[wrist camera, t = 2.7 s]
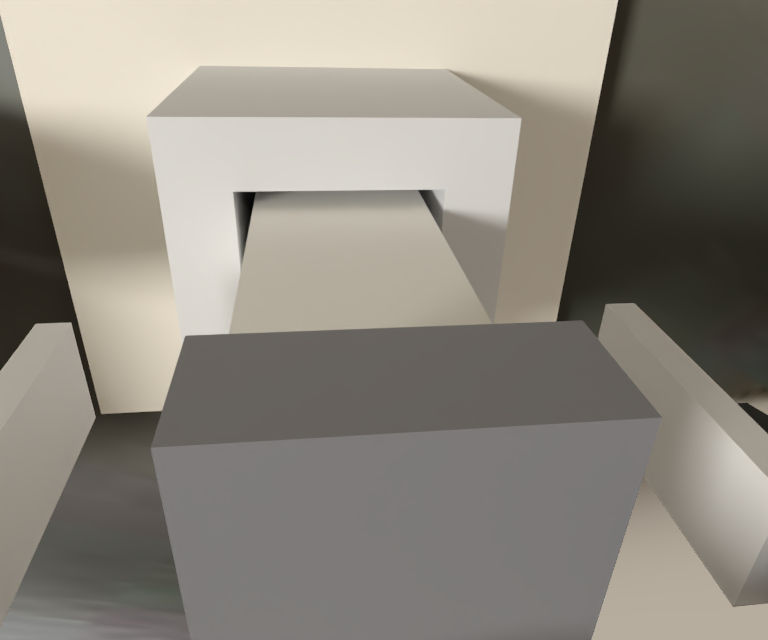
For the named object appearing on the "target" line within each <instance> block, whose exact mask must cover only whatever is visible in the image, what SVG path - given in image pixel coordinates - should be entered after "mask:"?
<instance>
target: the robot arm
mask: <svg viewBox="0 0 768 640" xmlns="http://www.w3.org/2000/svg"><path fill="white" fill-rule="evenodd" d="M598 340H599V341H600V342H601V344H602V345H603V346H604V347H605V348H606V350H607V351H608V352H609V353H610V355H611V356H612V357H613V358H614V359H615V361H616V362H617V363H618V364H619V366H620V367H621V368H622V369H623V370H624V372H625V373H626V374H627V375H628V376H629V378H630V379H631V380H632V381H633V383H634V384H635V385H636V386H637V387H638V389H639V390H640V391H641V392H642V394H643V395H644V396H645V397H646V398H647V400H648V401H649V402H650V403H651V405H652V406H653V407H654V408H655V409H656V411H657V412H658V413H659V414H660V415H661V417H662V420H661V423H660V426H659V429H658V432H657V435H656V439H655V442H654V445H653V448H652V451H651V454H650V457H649V460H648V464H647V467H646V470H645V473H644V476H643V477H644V478H645V479H646V481H647V482H648V484H649V485H650V487H651V488H652V489H653V491H654V493H655V494H656V495H657V497H658V498H659V500H660V501H661V503H662V504H663V506H664V507H665V508H666V510H667V511H668V513H669V514H670V516H671V517H672V519H673V520H674V522H675V523H676V524H677V526H678V527H679V529H680V530H681V532H682V533H683V535H684V536H685V538H686V539H687V541H688V542H689V543H690V545H691V546H692V548H693V549H694V551H695V552H696V553H697V555H698V557H699V558H700V559H701V561H702V562H703V564H704V565H705V567H706V568H707V570H708V571H709V573H710V574H711V575H712V577H713V578H714V580H715V581H716V583H717V584H718V585H719V587H720V589H721V590H722V591H723V593H724V594H725V596H726V597H727V599H728V600H729V602H730V603H731V604H732V606H733V607H736V606H746V605H756V604H766V603H768V415H766V414H765V413H763V412H761V411H760V410H758V409H756V408H754V407H753V406H751V405H749V404H748V403H738V404H737V403H736V402H735V401H734V400H733V399H732V398H731V397H730V396H729V395H728V394H727V393H726V392H725V391H724V390H723V389H722V388H720V387H719V386H718V385H717V384H716V383H715V382H714V381H713V380H712V379H711V378H710V377H709V376H708V375H707V374H706V373H705V372H704V371H703V370H702V369H701V368H700V367H699V366H698V365H697V364H696V363H695V362H694V361H693V360H692V359H691V358H690V357H689V356H688V355H687V354H686V353H685V352H684V351H683V350H682V349H681V348H680V347H679V346H678V345H677V344H676V343H675V342H674V341H673V340H671V339H670V338H669V337H668V336H667V335H666V334H665V333H664V332H663V331H662V330H661V329H660V328H659V327H658V326H657V325H656V324H655V323H654V322H653V321H652V320H651V319H650V318H649V317H648V316H647V315H646V314H645V313H644V312H643V311H642V310H641V309H640V308H639V307H638V306H637V305H636V304H635V303H620V304H606V306H605V310H604V314H603V319H602V323H601V327H600V331H599V336H598ZM95 418H96V417H95V413H94V409H93V405H92V401H91V397H90V393H89V390H88V386H87V382H86V378H85V374H84V370H83V366H82V363H81V359H80V355H79V351H78V347H77V343H76V339H75V335H74V332H73V328H72V324H71V323H43V324H35V325H34V327H33V328H32V329H31V331H30V332H29V333H28V335H27V336H26V337H25V339H24V340H23V341H22V343H21V344H20V345H19V347H18V348H17V349H16V351H15V352H14V353H13V355H12V356H11V358H10V359H9V360H8V362H7V363H6V364H5V366H4V367H3V368H2V370H1V371H0V628H1V625H2V623H3V621H4V619H5V617H6V614H7V612H8V610H9V608H10V606H11V603H12V601H13V599H14V597H15V595H16V592H17V590H18V588H19V586H20V584H21V581H22V579H23V577H24V575H25V573H26V570H27V568H28V566H29V564H30V562H31V559H32V557H33V555H34V553H35V550H36V548H37V546H38V544H39V542H40V539H41V537H42V535H43V533H44V531H45V528H46V526H47V524H48V522H49V520H50V517H51V515H52V513H53V511H54V509H55V506H56V504H57V502H58V500H59V498H60V495H61V493H62V491H63V489H64V487H65V484H66V482H67V480H68V478H69V476H70V473H71V471H72V469H73V467H74V465H75V462H76V460H77V458H78V456H79V454H80V451H81V449H82V447H83V445H84V442H85V440H86V438H87V436H88V434H89V431H90V429H91V427H92V425H93V423H94V420H95Z"/></svg>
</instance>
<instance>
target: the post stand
mask: <svg viewBox="0 0 768 640" xmlns="http://www.w3.org/2000/svg"><path fill="white" fill-rule="evenodd" d="M617 3H618V0H0V15H1V19H2V23H3V27H4V30H5V34H6V38H7V42H8V46H9V50H10V54H11V58H12V62H13V66H14V70H15V74H16V78H17V82H18V86H19V90H20V94H21V98H22V102H23V106H24V110H25V114H26V118H27V122H28V126H29V130H30V134H31V137H32V141H33V145H34V149H35V153H36V157H37V161H38V165H39V169H40V173H41V177H42V181H43V185H44V189H45V193H46V197H47V201H48V205H49V209H50V213H51V217H52V221H53V225H54V229H55V233H56V237H57V241H58V244H59V248H60V252H61V256H62V260H63V264H64V268H65V272H66V276H67V280H68V284H69V288H70V292H71V296H72V300H73V304H74V308H75V312H76V316H77V320H78V324H79V328H80V332H81V336H82V340H83V344H84V348H85V352H86V355H87V359H88V363H89V367H90V371H91V375H92V379H93V383H94V387H95V391H96V395H97V399H98V403H99V407H100V411H101V414H111V413H130V412H149V411H162V409H163V406H164V403H165V400H166V397H167V393H168V390H169V387H170V384H171V380H172V377H173V374H174V371H175V367H176V364H177V361H178V358H179V354H180V351H181V348H182V345H183V342H184V338H185V336H188V335H214V334H229V331H230V326H231V321H232V316H233V310H234V305H235V300H236V294H237V289H238V284H239V279H240V273H241V268H242V263H243V258H244V252H245V247H246V242H247V236H248V231H249V226H250V221H251V215H252V210H253V205H254V200H255V194H256V191H353V190H418V191H419V193H420V195H421V196H422V198H423V200H424V202H425V204H426V205H427V207H428V209H429V211H430V213H431V214H432V216H433V218H434V220H435V222H436V223H437V225H438V227H439V229H440V231H441V232H442V234H443V236H444V238H445V240H446V241H447V243H448V245H449V247H450V249H451V250H452V252H453V254H454V256H455V258H456V259H457V261H458V263H459V265H460V267H461V268H462V270H463V272H464V274H465V276H466V277H467V279H468V281H469V283H470V285H471V286H472V288H473V290H474V292H475V294H476V295H477V297H478V299H479V301H480V303H481V304H482V306H483V308H484V310H485V312H486V313H487V315H488V317H489V319H490V321H491V322H492V324H504V323H531V322H556V320H557V315H558V309H559V304H560V299H561V294H562V289H563V284H564V278H565V273H566V268H567V263H568V258H569V252H570V247H571V242H572V237H573V232H574V226H575V221H576V216H577V211H578V206H579V201H580V195H581V190H582V185H583V180H584V175H585V169H586V164H587V159H588V154H589V149H590V143H591V138H592V133H593V128H594V123H595V118H596V112H597V107H598V102H599V97H600V92H601V86H602V81H603V76H604V71H605V66H606V60H607V55H608V50H609V45H610V40H611V35H612V29H613V24H614V19H615V14H616V9H617Z"/></svg>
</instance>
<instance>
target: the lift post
mask: <svg viewBox="0 0 768 640" xmlns="http://www.w3.org/2000/svg"><path fill="white" fill-rule="evenodd" d="M661 420H662V417H661V415H660V414H659V413H658V412H657V411H656V409H655V408H654V407H653V406H652V405H651V403H650V402H649V401H648V400H647V398H646V397H645V396H644V395H643V394H642V392H641V391H640V390H639V389H638V387H637V386H636V385H635V384H634V383H633V381H632V380H631V379H630V378H629V376H628V375H627V374H626V373H625V372H624V370H623V369H622V368H621V367H620V366H619V364H618V363H617V362H616V361H615V359H614V358H613V357H612V356H611V355H610V353H609V352H608V351H607V350H606V348H605V347H604V346H603V345H602V344H601V342H600V341H599V340H598V339H597V337H596V336H595V335H594V334H593V333H592V331H591V330H590V329H589V328H588V327H587V325H586V324H585V323H584V322H583V321H557V322H531V323H504V324H492V322H491V321H490V319H489V317H488V315H487V313H486V312H485V310H484V308H483V306H482V304H481V303H480V301H479V299H478V297H477V295H476V294H475V292H474V290H473V288H472V286H471V285H470V283H469V281H468V279H467V277H466V276H465V274H464V272H463V270H462V268H461V267H460V265H459V263H458V261H457V259H456V258H455V256H454V254H453V252H452V250H451V249H450V247H449V245H448V243H447V241H446V240H445V238H444V236H443V234H442V232H441V231H440V229H439V227H438V225H437V223H436V222H435V220H434V218H433V216H432V214H431V213H430V211H429V209H428V207H427V205H426V204H425V202H424V200H423V198H422V196H421V195H420V193H419V191H418V190H353V191H256V194H255V200H254V205H253V210H252V215H251V221H250V226H249V231H248V236H247V242H246V247H245V252H244V258H243V263H242V268H241V273H240V279H239V284H238V289H237V294H236V300H235V305H234V310H233V316H232V321H231V326H230V331H229V334H214V335H188V336H185V338H184V342H183V345H182V348H181V351H180V354H179V358H178V361H177V364H176V367H175V371H174V374H173V377H172V380H171V384H170V387H169V390H168V393H167V397H166V400H165V403H164V406H163V409H162V413H161V416H160V419H159V422H158V426H157V429H156V432H155V435H154V439H153V442H152V445H151V452H152V457H153V461H154V466H155V471H156V476H157V480H158V485H159V490H160V495H161V500H162V504H163V509H164V514H165V519H166V524H167V528H168V533H169V538H170V543H171V547H172V552H173V557H174V562H175V567H176V571H177V576H178V581H179V586H180V590H181V595H182V600H183V605H184V610H185V614H186V619H187V624H188V629H189V633H190V638H191V640H591V638H592V635H593V632H594V629H595V626H596V623H597V620H598V617H599V613H600V610H601V607H602V604H603V601H604V598H605V595H606V592H607V588H608V585H609V582H610V579H611V576H612V573H613V570H614V567H615V563H616V560H617V557H618V554H619V551H620V548H621V545H622V542H623V538H624V535H625V532H626V529H627V526H628V523H629V519H630V516H631V513H632V510H633V507H634V504H635V501H636V498H637V495H638V491H639V488H640V485H641V482H642V479H643V476H644V473H645V470H646V467H647V464H648V460H649V457H650V454H651V451H652V448H653V445H654V442H655V439H656V435H657V432H658V429H659V426H660V423H661Z"/></svg>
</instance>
